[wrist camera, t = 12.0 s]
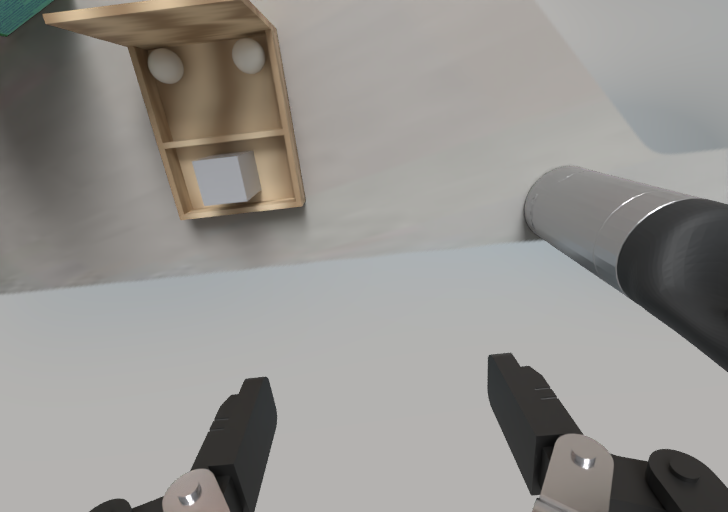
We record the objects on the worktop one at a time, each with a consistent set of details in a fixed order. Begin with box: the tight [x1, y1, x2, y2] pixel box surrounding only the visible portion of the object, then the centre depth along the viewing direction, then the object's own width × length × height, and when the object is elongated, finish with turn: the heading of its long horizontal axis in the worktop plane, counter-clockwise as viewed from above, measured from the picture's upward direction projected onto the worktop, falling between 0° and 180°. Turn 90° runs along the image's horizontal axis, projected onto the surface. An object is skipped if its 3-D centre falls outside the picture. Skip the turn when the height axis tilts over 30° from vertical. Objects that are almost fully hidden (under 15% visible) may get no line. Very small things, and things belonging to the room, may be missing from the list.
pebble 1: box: [148, 48, 184, 84], centre depth 37 cm, size 3×3×3 cm
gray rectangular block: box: [192, 150, 262, 206], centre depth 39 cm, size 4×4×6 cm
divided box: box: [42, 0, 306, 220], centre depth 35 cm, size 14×18×13 cm
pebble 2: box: [232, 38, 265, 74], centre depth 36 cm, size 3×3×3 cm
